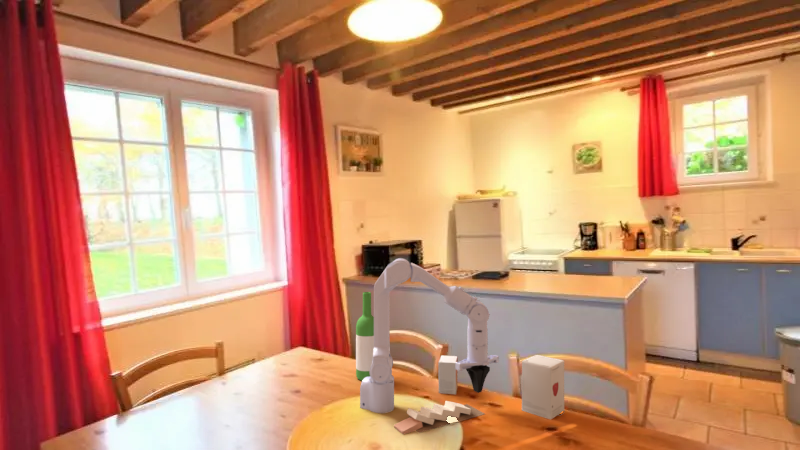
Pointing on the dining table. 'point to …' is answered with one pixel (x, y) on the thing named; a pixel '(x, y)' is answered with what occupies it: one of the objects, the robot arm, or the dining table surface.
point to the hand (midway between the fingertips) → (477, 391)
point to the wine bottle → (364, 339)
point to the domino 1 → (408, 425)
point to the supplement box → (543, 386)
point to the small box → (447, 374)
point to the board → (442, 423)
